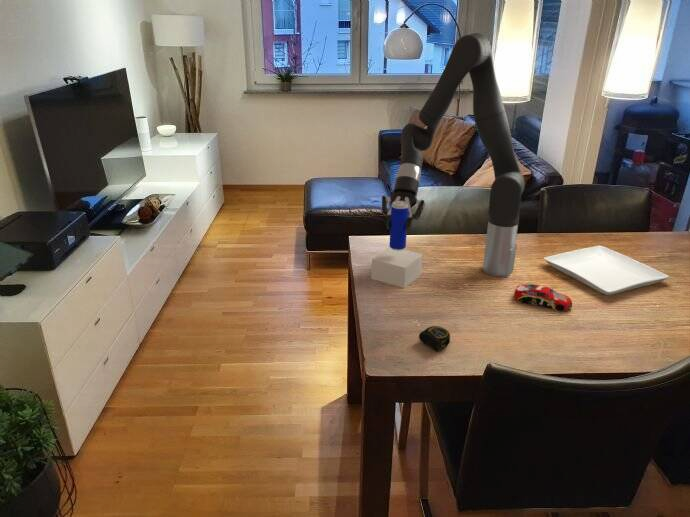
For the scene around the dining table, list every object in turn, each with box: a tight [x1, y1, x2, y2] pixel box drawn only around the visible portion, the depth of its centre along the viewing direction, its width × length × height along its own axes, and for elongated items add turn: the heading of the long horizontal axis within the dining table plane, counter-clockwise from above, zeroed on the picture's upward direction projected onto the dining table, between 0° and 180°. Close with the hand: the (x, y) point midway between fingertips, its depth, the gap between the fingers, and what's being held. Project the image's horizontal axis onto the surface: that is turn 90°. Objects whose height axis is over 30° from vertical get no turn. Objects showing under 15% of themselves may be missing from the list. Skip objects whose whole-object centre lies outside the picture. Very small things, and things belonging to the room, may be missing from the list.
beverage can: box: [389, 201, 408, 251], centre depth 164 cm, size 5×5×15 cm
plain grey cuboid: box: [370, 246, 424, 289], centre depth 170 cm, size 12×12×7 cm
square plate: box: [543, 245, 670, 296], centre depth 172 cm, size 27×27×4 cm
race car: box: [513, 283, 573, 313], centre depth 155 cm, size 16×7×5 cm, turn 62°
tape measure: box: [418, 325, 451, 352], centre depth 135 cm, size 7×7×4 cm
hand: (397, 228), depth 163 cm, fingers closed on beverage can, 5 cm apart
